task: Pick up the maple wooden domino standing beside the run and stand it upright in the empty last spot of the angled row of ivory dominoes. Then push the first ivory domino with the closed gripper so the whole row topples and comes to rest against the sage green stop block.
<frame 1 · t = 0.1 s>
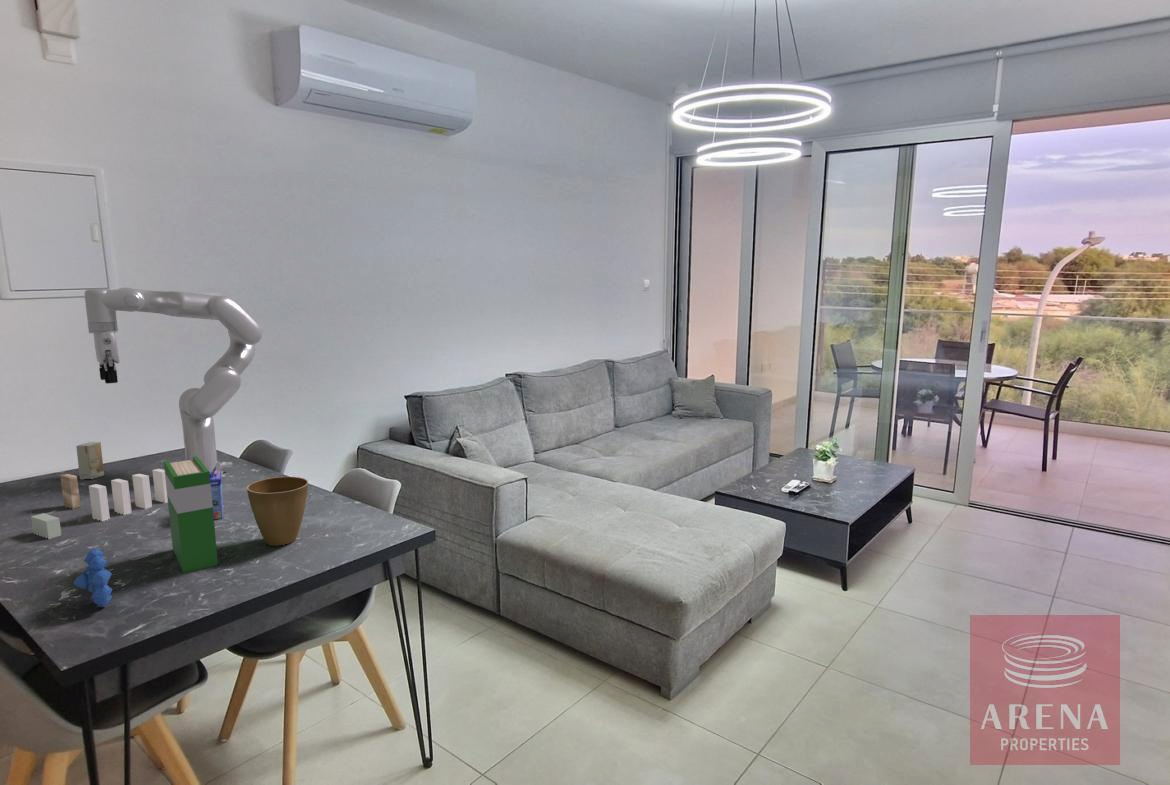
hand: (109, 381, 211), 37 cm above the table, tool pointing down, fingers open, 9 cm apart
domino 3: (123, 512, 198), on the table
grapes: (96, 604, 143), on the table
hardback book: (194, 557, 167), on the table
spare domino: (72, 507, 202), on the table
skincare box: (92, 477, 232), on the table
domino 1: (163, 500, 208), on the table
domino 2: (143, 506, 203), on the table
plant pot: (282, 541, 178), on the table
domino 4: (101, 519, 192), on the table
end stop: (47, 534, 180), on the table
ink cartridge box: (213, 515, 197), on the table
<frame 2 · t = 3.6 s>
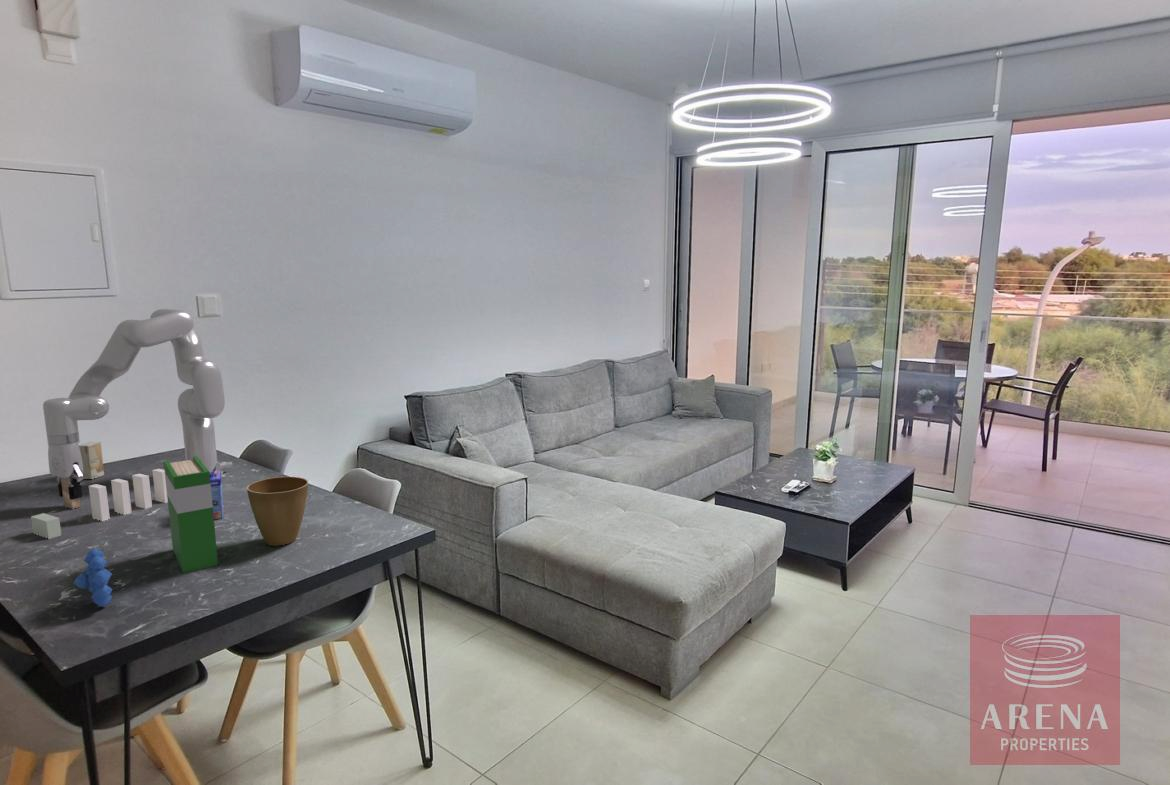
hand: (70, 496, 201), 3 cm above the table, tool pointing down, fingers closed on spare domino, 4 cm apart
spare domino: (72, 507, 202), on the table, touching gripper
everything else where it was.
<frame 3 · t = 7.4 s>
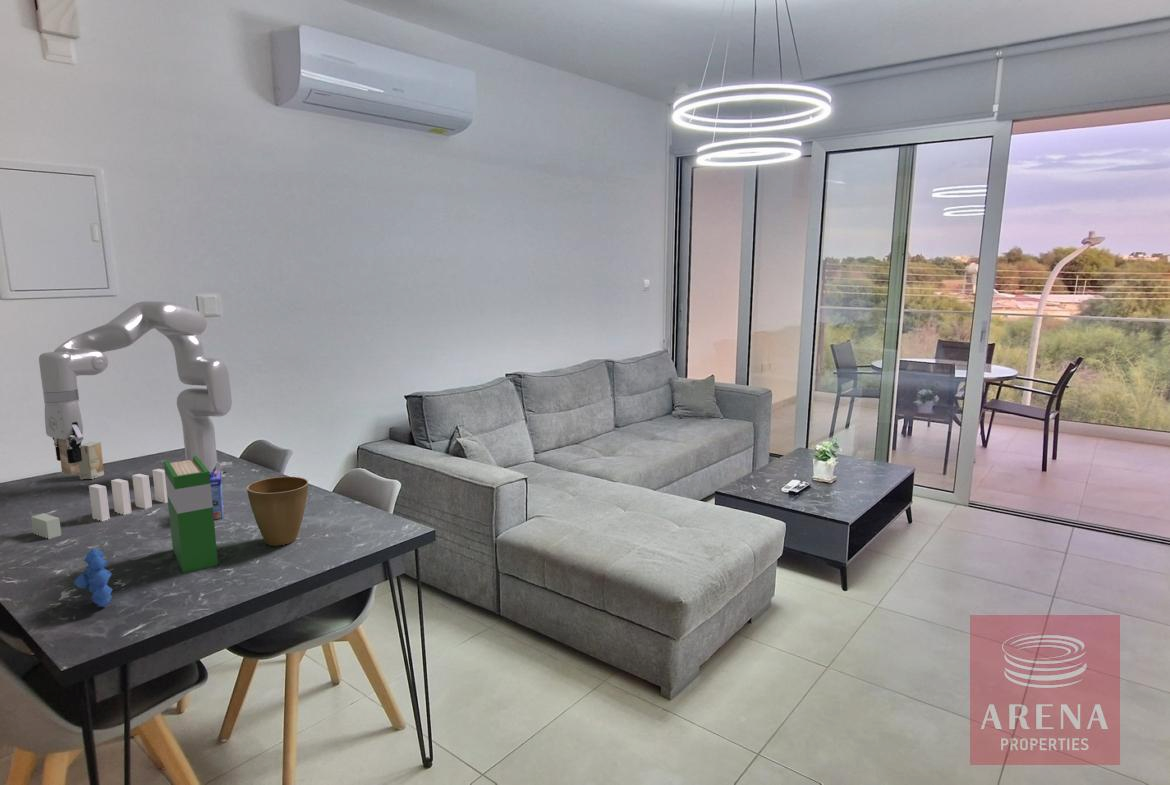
hand: (69, 460, 184), 19 cm above the table, tool pointing down, fingers closed on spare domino, 4 cm apart
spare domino: (70, 472, 184), point 16 cm above the table, touching gripper
everything else where it was.
when the fingers open (4 cm above the table, at t = 11.2 s): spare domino stays where it is, on the table.
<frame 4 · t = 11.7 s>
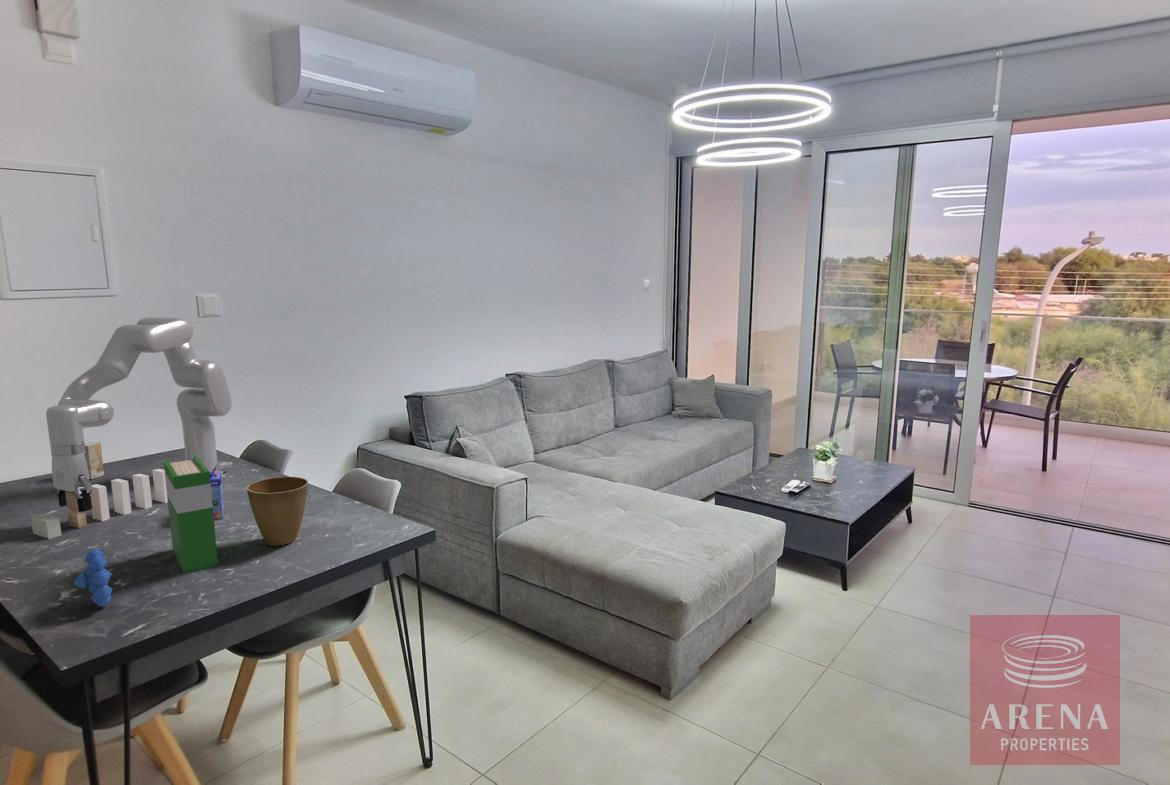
hand: (75, 507, 186), 5 cm above the table, tool pointing down, fingers open, 9 cm apart
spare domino: (78, 525, 187), on the table
everything else where it was.
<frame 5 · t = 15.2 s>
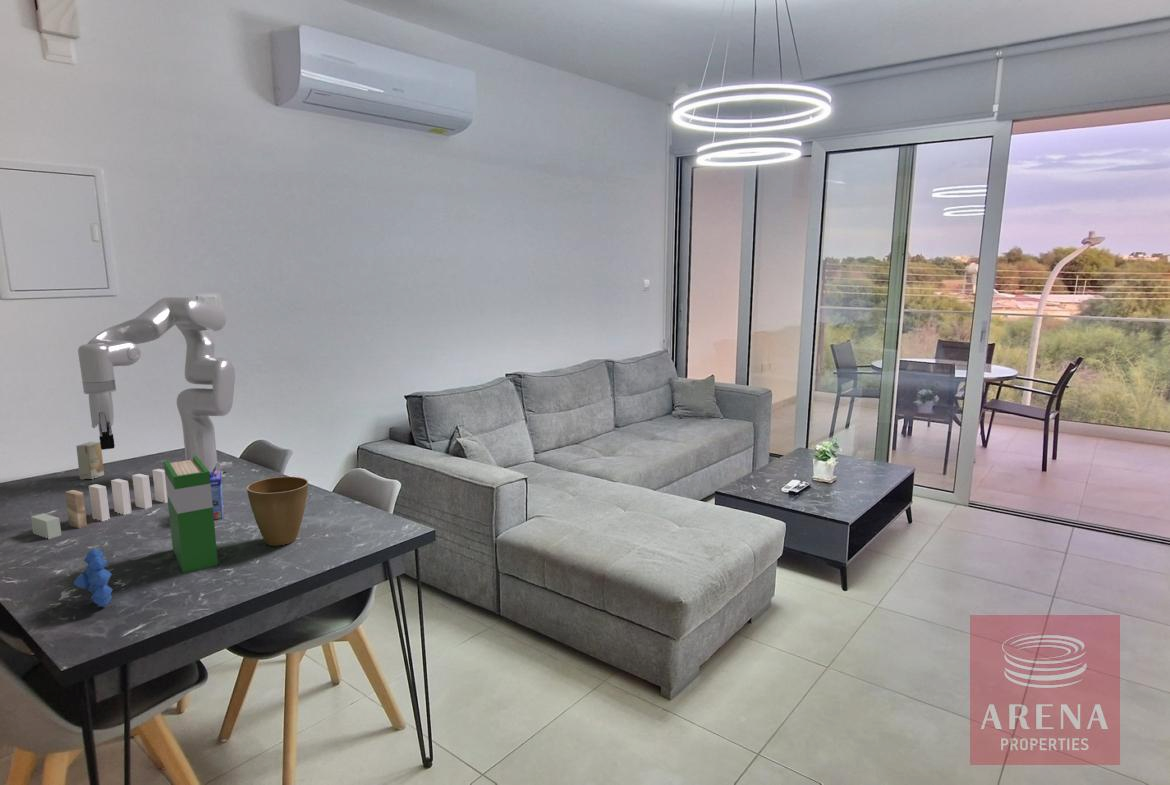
hand: (108, 448, 192), 20 cm above the table, tool pointing down, fingers closed
nothing on the table moved.
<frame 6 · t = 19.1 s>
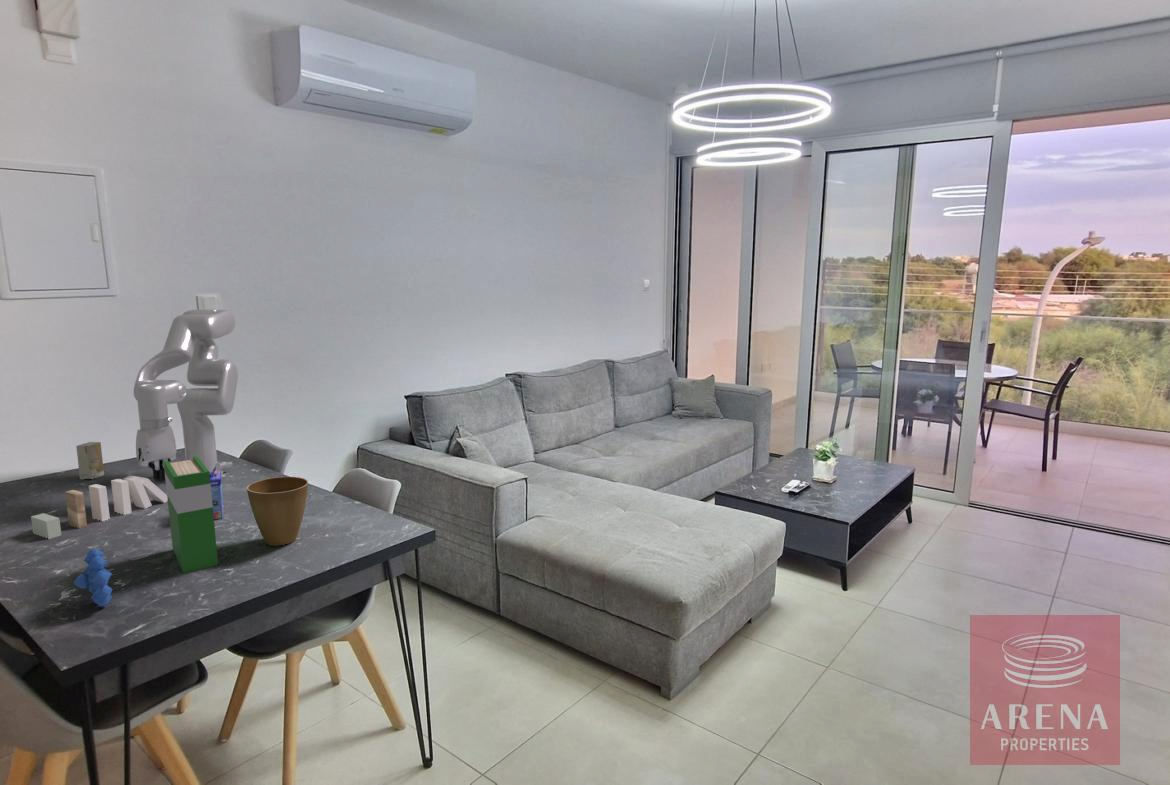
hand: (160, 480, 207), 7 cm above the table, tool pointing down, fingers closed
domino 1: (162, 499, 208), point 1 cm above the table, tilted 37°
domino 2: (143, 505, 203), on the table, tilted 15°
everything else where it was.
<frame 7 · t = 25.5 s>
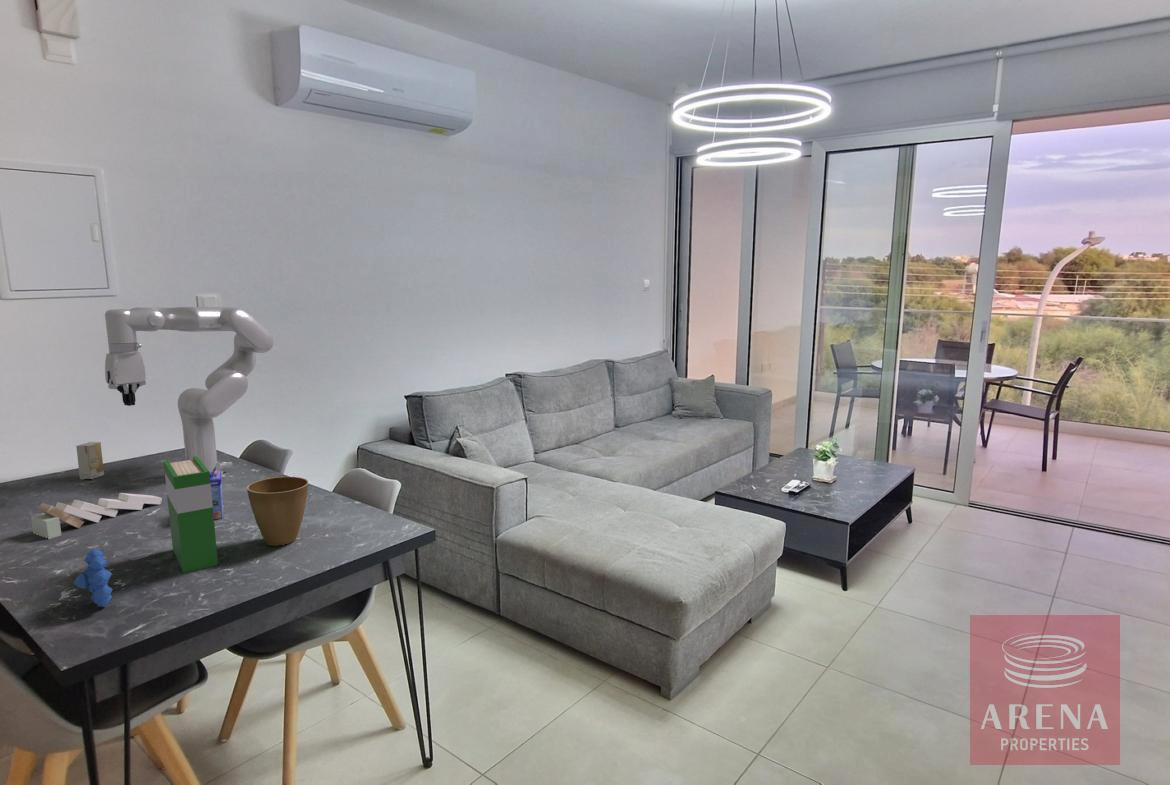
hand: (129, 404, 212), 29 cm above the table, tool pointing down, fingers closed
domino 3: (111, 512, 195), point 1 cm above the table, tilted 58°, touching domino 4
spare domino: (76, 523, 187), point 1 cm above the table, tilted 45°, touching domino 4, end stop
domino 1: (156, 500, 206), point 1 cm above the table, tilted 69°, touching domino 2
domino 2: (138, 505, 201), point 1 cm above the table, tilted 69°, touching domino 1
domino 4: (95, 517, 191), point 1 cm above the table, tilted 53°, touching domino 3, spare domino
everything else where it was.
at the end: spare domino tilted 45°; domino 4 tilted 53°; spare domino moved 20.3 cm from its start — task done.
